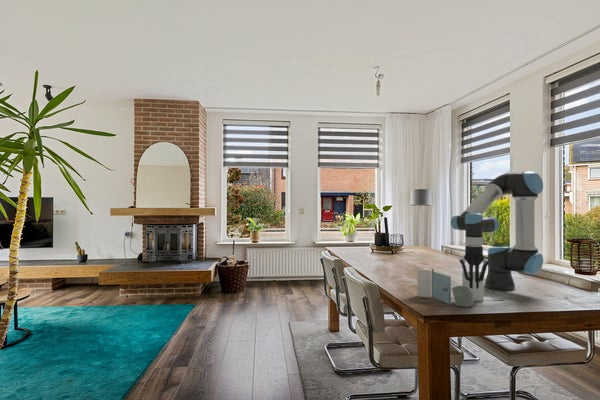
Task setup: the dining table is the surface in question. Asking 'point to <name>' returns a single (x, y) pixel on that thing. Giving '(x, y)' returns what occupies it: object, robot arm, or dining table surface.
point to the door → (442, 287)
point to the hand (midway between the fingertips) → (474, 295)
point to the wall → (425, 284)
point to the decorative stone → (462, 296)
